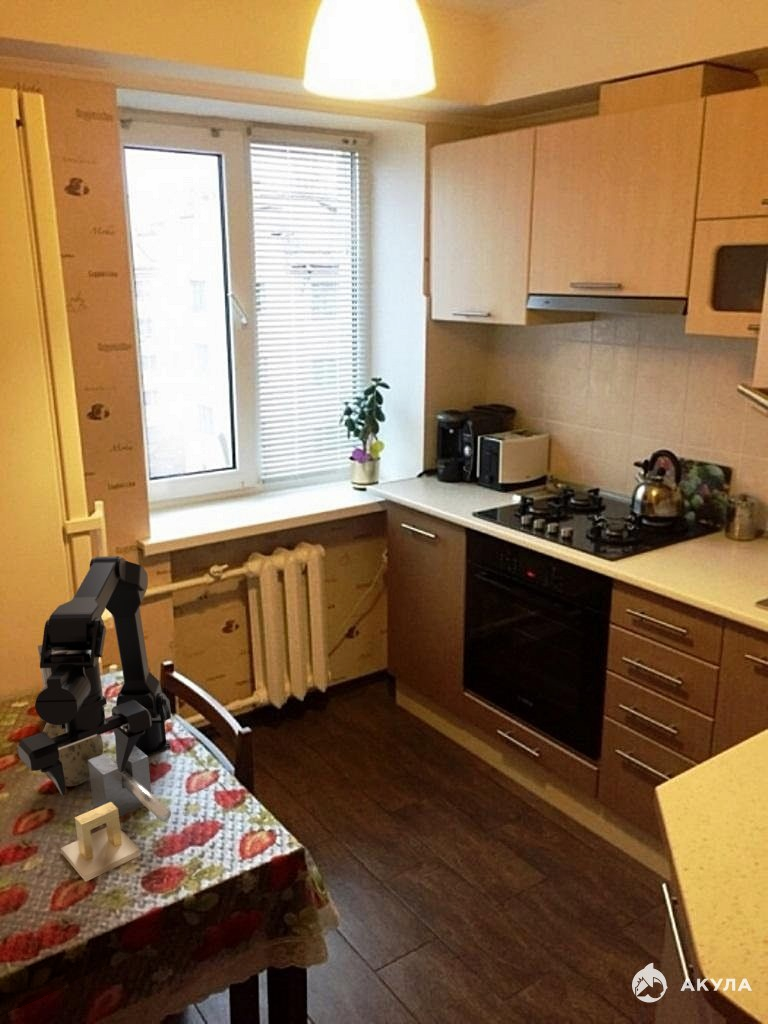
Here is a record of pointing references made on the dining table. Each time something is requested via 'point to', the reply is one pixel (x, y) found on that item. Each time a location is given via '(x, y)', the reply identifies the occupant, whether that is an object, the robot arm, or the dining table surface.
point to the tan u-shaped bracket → (95, 819)
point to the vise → (125, 785)
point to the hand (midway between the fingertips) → (92, 782)
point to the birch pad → (100, 855)
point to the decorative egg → (75, 756)
